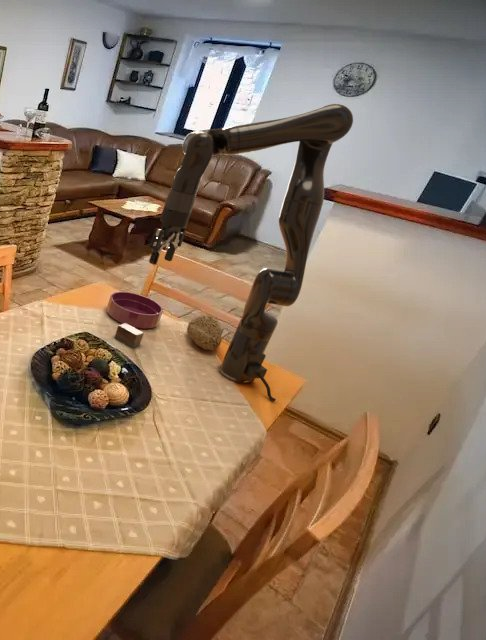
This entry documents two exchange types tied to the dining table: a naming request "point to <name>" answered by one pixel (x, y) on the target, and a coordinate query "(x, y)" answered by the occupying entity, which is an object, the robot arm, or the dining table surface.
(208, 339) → the sponge
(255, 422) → the dining table surface
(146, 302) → the bowl
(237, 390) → the dining table surface
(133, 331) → the eraser
